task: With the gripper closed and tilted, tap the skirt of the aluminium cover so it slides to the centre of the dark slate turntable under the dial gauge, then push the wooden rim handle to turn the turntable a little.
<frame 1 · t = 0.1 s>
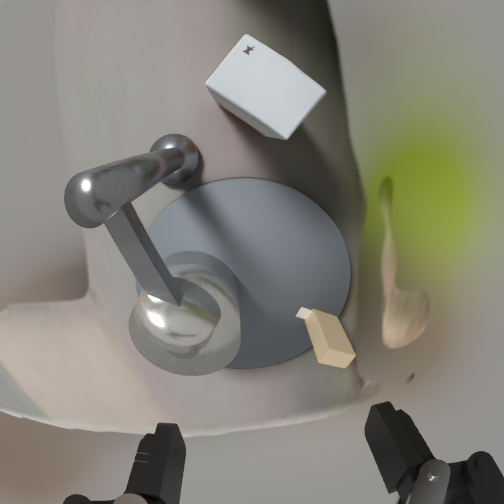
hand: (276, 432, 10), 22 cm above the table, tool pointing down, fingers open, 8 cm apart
skincare box: (253, 104, 25), on the table
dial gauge: (174, 158, 27), on the table
cover: (193, 293, 30), point 2 cm above the table, touching turntable
turntable: (244, 306, 28), point 5 cm above the table, hinge at 0.0°, touching cover
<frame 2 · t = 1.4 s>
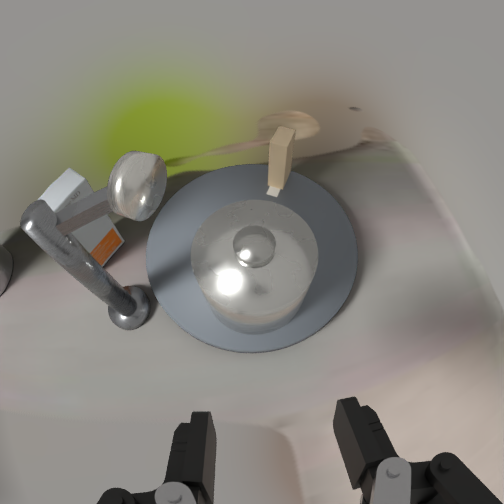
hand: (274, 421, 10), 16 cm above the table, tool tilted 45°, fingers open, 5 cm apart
skincare box: (103, 251, 34), on the table
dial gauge: (130, 308, 30), on the table
cover: (254, 286, 29), point 2 cm above the table, touching turntable
turntable: (251, 226, 29), point 5 cm above the table, hinge at 0.0°, touching cover
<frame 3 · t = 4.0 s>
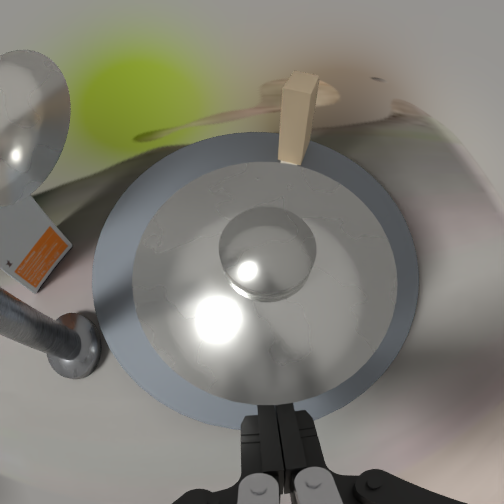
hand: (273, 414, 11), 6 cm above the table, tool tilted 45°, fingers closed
skincare box: (46, 260, 21), on the table
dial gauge: (74, 347, 17), on the table
cover: (262, 317, 17), point 2 cm above the table, touching gripper
turntable: (255, 219, 17), point 5 cm above the table, hinge at 0.2°
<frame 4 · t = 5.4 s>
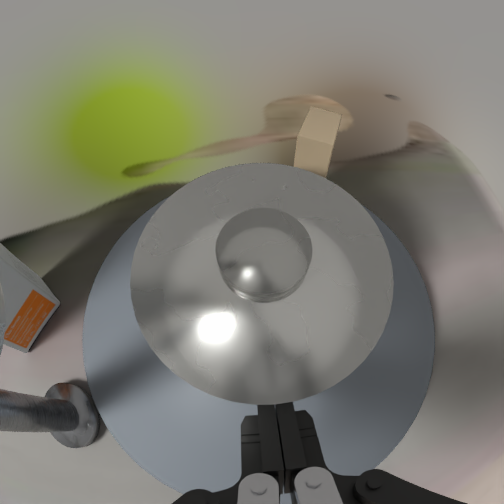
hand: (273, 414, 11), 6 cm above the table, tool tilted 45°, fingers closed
skincare box: (35, 315, 19), on the table
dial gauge: (72, 415, 15), on the table
cover: (260, 317, 17), point 2 cm above the table, touching gripper, turntable
turntable: (261, 308, 14), point 5 cm above the table, hinge at -0.3°, touching cover
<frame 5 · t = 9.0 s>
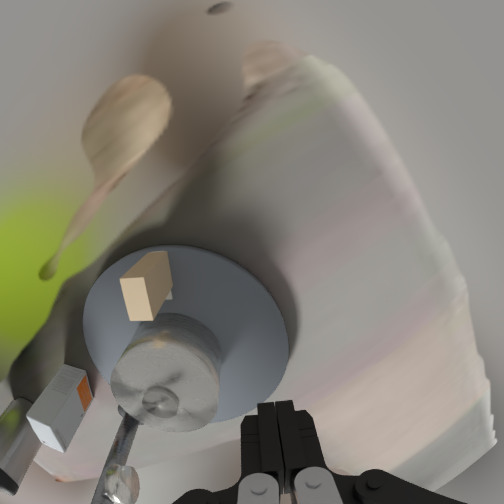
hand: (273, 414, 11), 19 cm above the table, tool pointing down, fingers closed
skincare box: (79, 380, 33), on the table
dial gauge: (135, 410, 34), on the table
cover: (176, 352, 29), point 2 cm above the table, touching turntable
turntable: (174, 369, 27), point 5 cm above the table, hinge at -0.3°, touching cover
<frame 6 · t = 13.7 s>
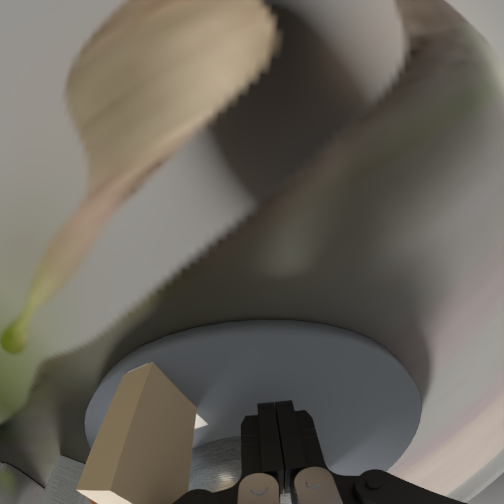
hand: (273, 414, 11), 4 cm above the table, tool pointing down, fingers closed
skincare box: (85, 472, 18), on the table
cover: (253, 473, 15), point 2 cm above the table, touching turntable
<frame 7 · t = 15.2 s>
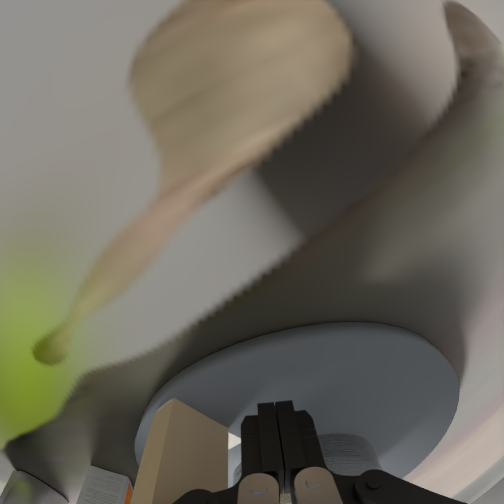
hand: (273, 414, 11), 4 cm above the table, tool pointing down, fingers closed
skincare box: (115, 481, 19), on the table
cover: (305, 473, 15), point 2 cm above the table, touching turntable
turntable: (316, 502, 12), point 5 cm above the table, hinge at 43.1°, touching cover, hand
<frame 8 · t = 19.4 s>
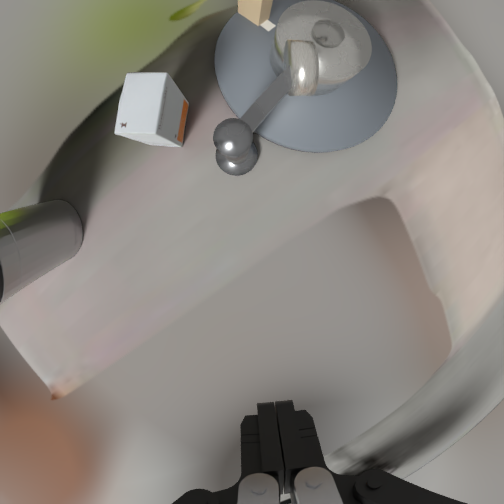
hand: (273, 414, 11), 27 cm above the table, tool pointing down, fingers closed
skincare box: (171, 123, 32), on the table
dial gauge: (236, 155, 34), on the table
cover: (310, 60, 29), point 2 cm above the table, touching turntable
turntable: (318, 53, 26), point 5 cm above the table, hinge at 43.5°, touching cover
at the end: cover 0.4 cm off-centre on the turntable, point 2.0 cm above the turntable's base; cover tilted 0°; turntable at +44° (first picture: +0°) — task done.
